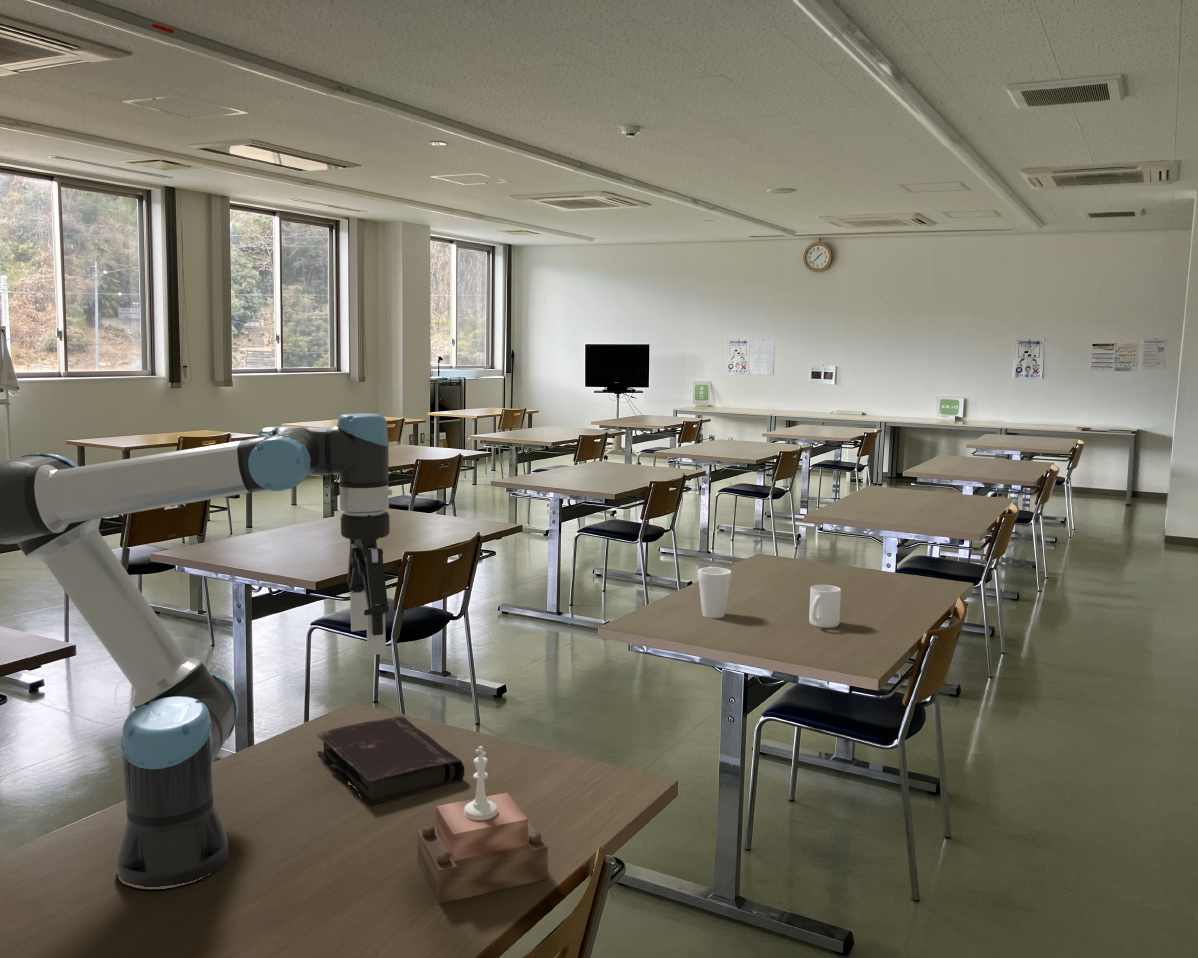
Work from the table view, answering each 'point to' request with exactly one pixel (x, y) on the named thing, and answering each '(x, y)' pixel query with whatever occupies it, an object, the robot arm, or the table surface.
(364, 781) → the diary
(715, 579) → the foam cup
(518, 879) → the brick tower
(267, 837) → the table surface
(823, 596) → the mug
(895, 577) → the table surface
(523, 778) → the table surface
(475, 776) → the chess piece
